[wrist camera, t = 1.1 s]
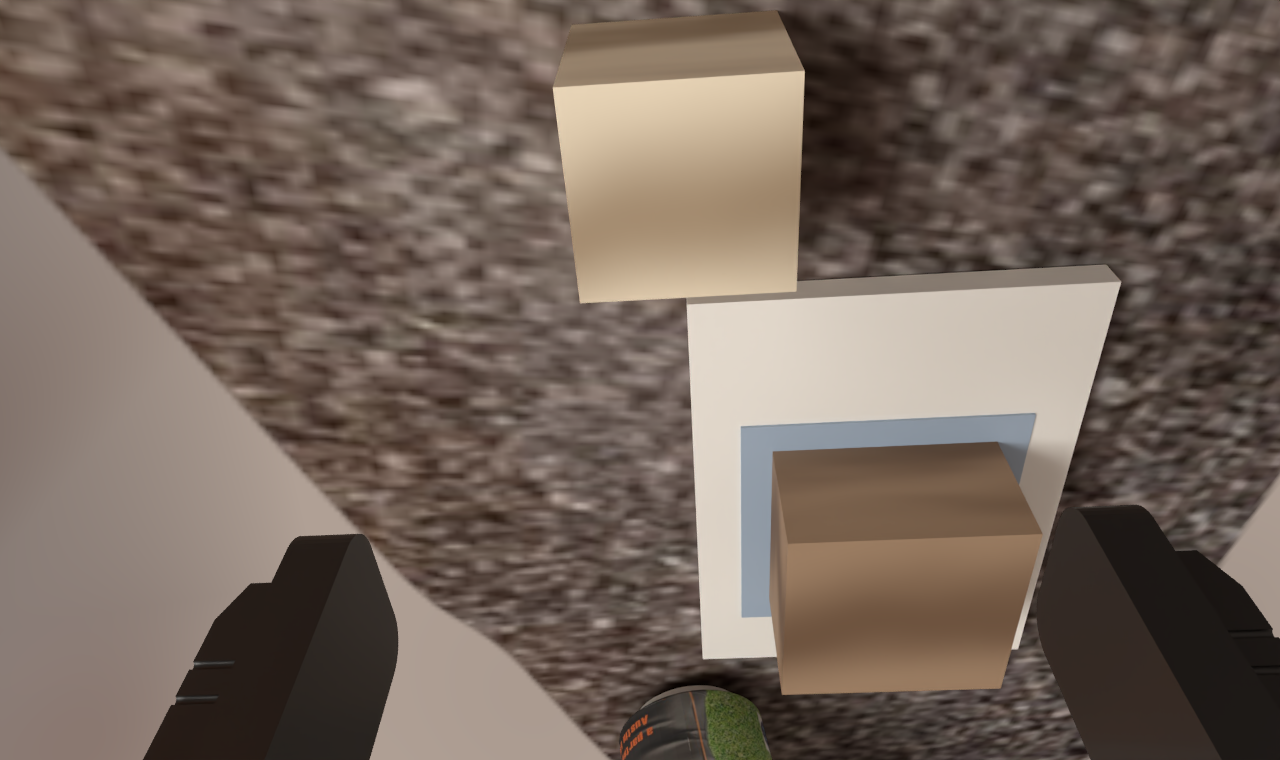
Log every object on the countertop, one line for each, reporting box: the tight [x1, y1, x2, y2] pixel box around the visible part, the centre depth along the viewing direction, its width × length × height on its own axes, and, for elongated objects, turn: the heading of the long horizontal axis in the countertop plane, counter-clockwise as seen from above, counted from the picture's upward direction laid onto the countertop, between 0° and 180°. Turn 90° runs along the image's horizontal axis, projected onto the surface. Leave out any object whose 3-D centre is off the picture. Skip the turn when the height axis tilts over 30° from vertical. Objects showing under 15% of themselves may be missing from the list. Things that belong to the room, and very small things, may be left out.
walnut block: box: [769, 442, 1043, 695], centre depth 28 cm, size 7×7×4 cm
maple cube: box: [553, 10, 805, 303], centre depth 21 cm, size 5×5×5 cm
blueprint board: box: [686, 265, 1121, 659], centre depth 30 cm, size 16×12×1 cm
